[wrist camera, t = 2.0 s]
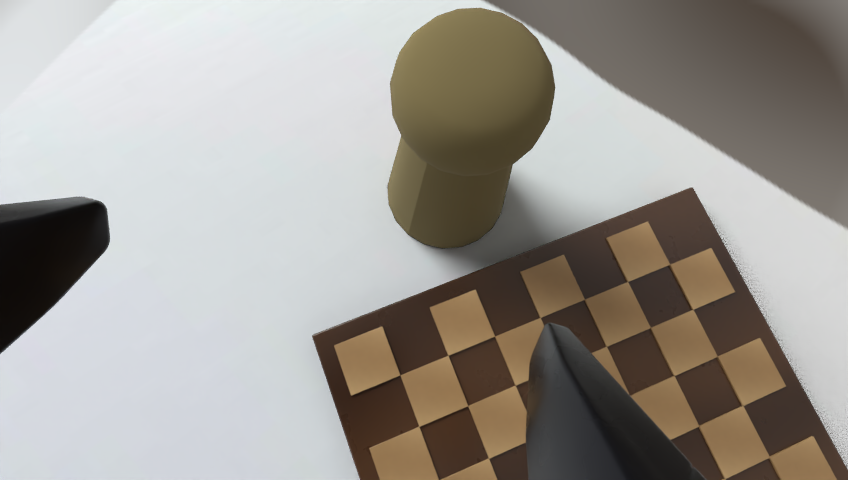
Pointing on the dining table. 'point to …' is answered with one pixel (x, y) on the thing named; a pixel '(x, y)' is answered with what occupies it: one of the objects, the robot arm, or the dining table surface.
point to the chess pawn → (464, 122)
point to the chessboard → (601, 334)
